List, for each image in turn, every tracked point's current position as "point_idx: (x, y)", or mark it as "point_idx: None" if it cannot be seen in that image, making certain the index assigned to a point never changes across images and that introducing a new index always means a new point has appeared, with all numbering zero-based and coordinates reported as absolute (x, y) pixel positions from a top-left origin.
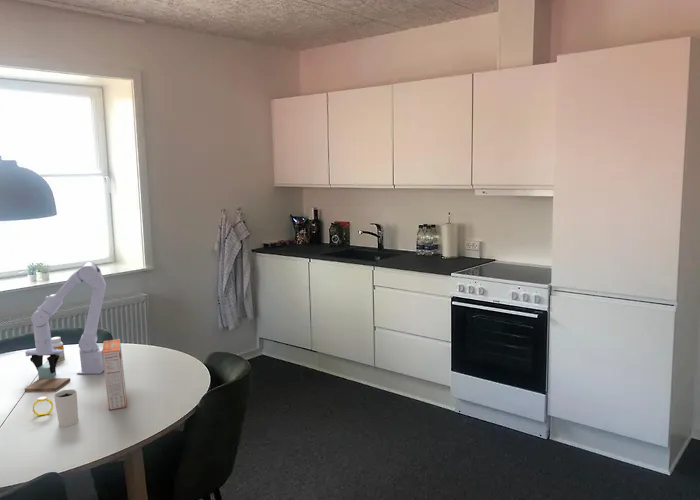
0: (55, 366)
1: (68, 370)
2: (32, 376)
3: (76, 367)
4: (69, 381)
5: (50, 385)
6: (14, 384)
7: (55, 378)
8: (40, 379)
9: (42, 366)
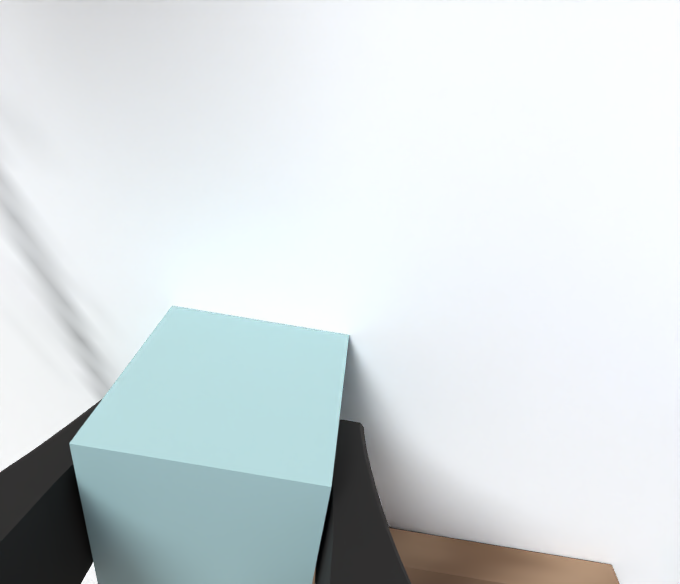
0: (370, 503)
1: (512, 181)
2: (19, 335)
3: (669, 4)
4: (605, 574)
5: None
6: None
7: (443, 577)
8: None
9: (141, 551)
